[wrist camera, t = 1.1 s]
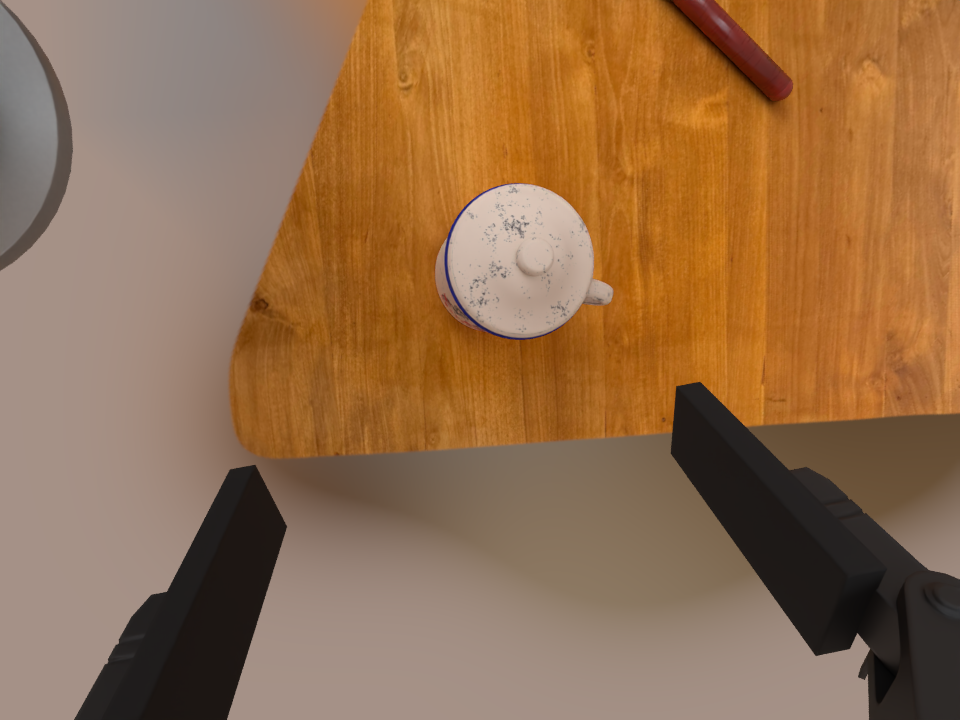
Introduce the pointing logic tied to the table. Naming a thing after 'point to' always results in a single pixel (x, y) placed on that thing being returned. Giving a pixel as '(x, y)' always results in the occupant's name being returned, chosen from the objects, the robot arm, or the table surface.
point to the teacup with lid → (518, 263)
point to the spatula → (738, 47)
